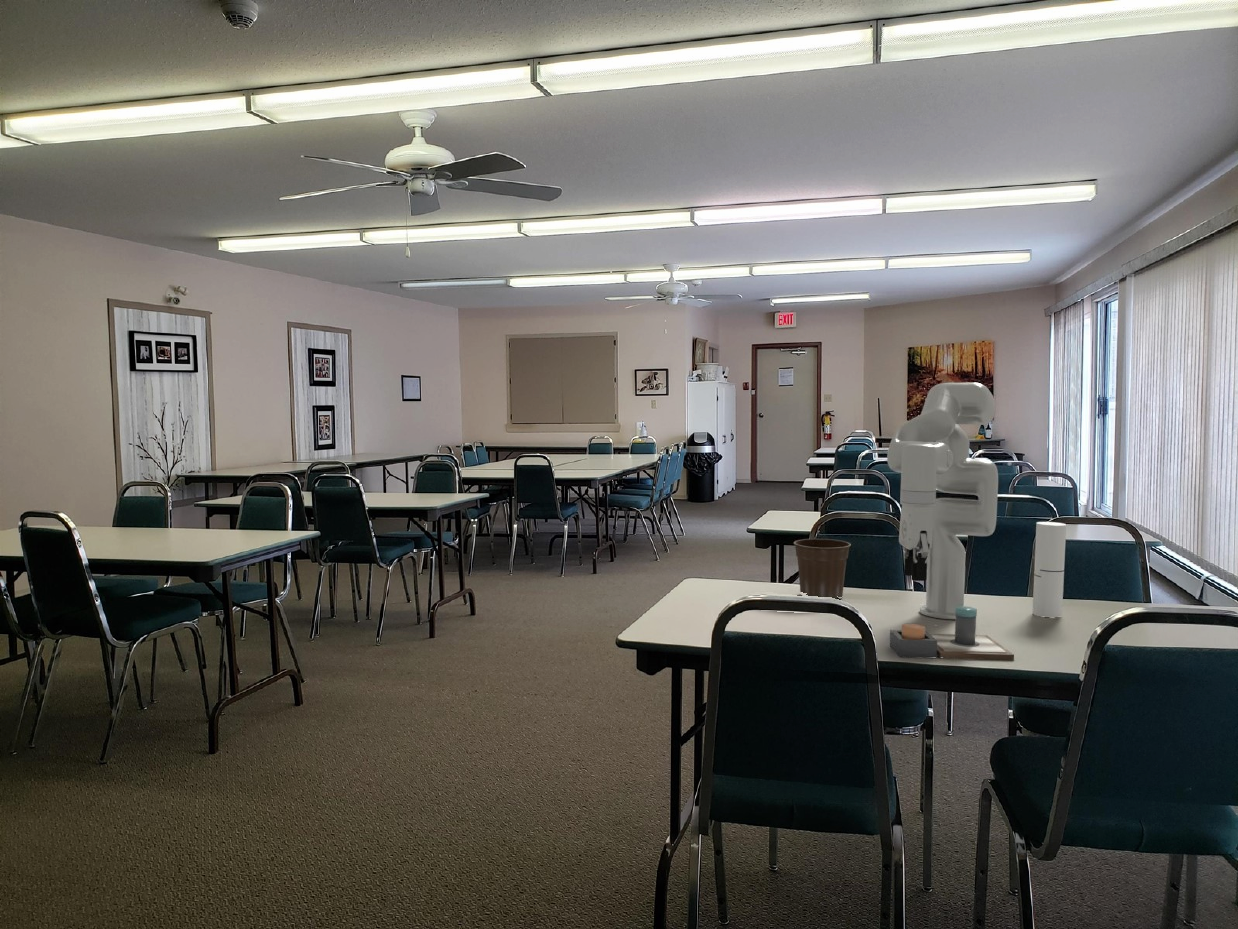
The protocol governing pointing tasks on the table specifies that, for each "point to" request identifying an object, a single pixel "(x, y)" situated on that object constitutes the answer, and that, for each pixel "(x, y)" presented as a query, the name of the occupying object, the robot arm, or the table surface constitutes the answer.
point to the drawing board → (971, 648)
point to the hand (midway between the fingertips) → (915, 577)
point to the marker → (965, 625)
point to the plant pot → (822, 566)
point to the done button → (913, 631)
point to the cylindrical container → (1049, 569)
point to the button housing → (913, 645)
